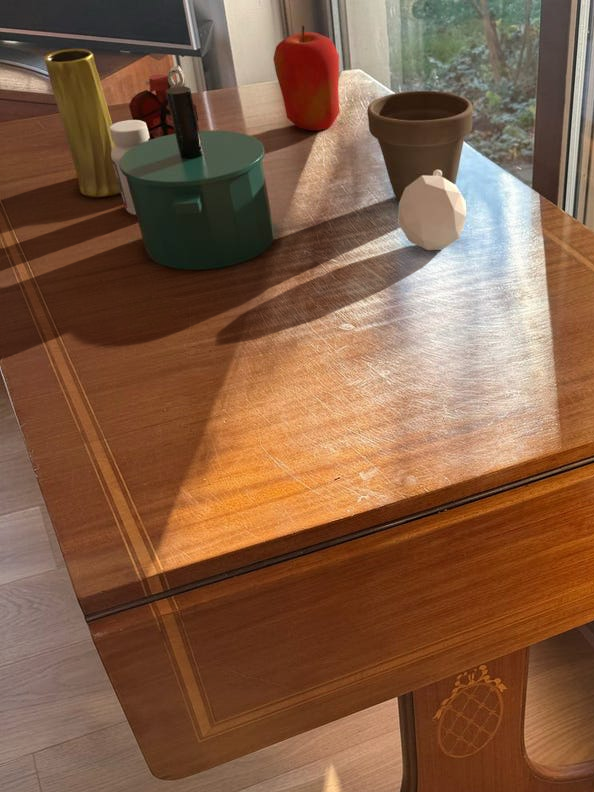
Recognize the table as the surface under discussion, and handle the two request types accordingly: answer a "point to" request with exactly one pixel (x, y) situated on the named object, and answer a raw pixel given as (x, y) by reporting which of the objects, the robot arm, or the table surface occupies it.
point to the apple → (308, 79)
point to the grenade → (157, 104)
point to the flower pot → (420, 134)
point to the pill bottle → (125, 139)
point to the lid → (190, 151)
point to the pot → (205, 221)
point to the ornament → (432, 212)
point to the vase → (84, 119)
